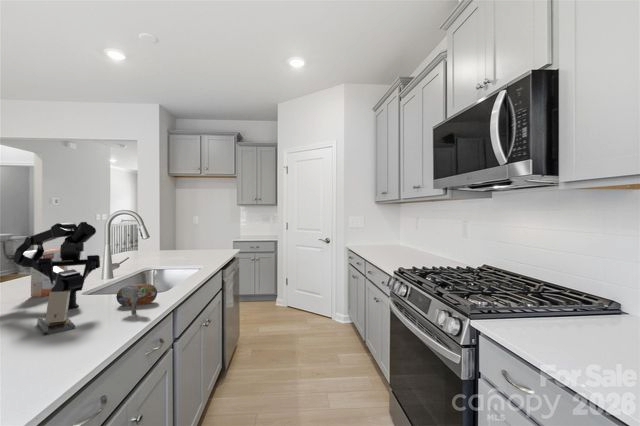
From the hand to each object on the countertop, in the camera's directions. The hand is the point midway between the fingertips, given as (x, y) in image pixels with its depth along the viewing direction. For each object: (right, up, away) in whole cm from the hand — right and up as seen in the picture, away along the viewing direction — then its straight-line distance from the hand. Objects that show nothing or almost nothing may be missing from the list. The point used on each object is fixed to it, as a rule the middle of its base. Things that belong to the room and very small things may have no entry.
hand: (67, 281), depth 115 cm
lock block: (+3, -12, -8) cm, 15 cm away
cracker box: (-36, -13, +33) cm, 50 cm away
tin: (+16, -14, +17) cm, 27 cm away
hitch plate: (+3, -14, -8) cm, 16 cm away
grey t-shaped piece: (+21, -14, +6) cm, 26 cm away
